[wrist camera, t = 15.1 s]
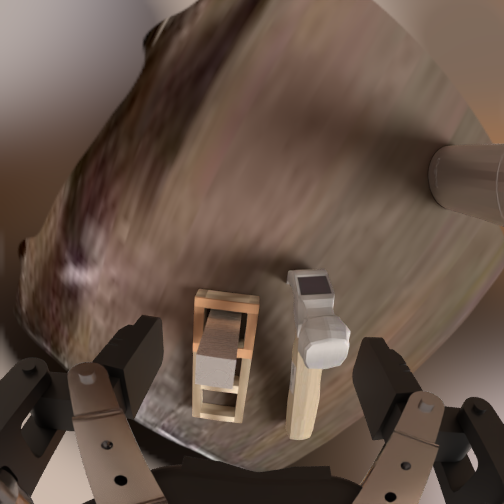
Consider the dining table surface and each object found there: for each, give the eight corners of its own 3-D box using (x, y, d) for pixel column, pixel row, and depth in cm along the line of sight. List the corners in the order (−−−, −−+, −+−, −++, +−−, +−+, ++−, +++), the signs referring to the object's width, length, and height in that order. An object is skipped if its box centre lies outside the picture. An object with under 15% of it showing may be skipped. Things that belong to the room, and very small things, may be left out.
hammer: (317, 466, 37) (357, 335, 22) (287, 468, 37) (300, 340, 23) (308, 390, 51) (322, 244, 36) (282, 392, 51) (284, 246, 36)
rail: (259, 296, 39) (259, 305, 37) (242, 412, 45) (241, 424, 43) (198, 288, 39) (194, 297, 37) (194, 406, 45) (192, 417, 42)
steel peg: (242, 307, 40) (236, 360, 28) (239, 333, 41) (232, 389, 29) (212, 303, 40) (196, 354, 28) (210, 329, 41) (195, 383, 29)
